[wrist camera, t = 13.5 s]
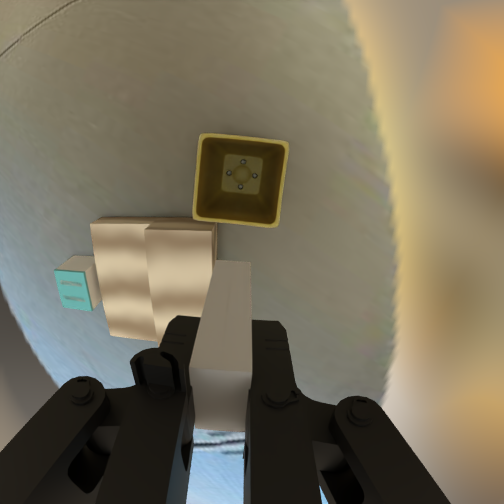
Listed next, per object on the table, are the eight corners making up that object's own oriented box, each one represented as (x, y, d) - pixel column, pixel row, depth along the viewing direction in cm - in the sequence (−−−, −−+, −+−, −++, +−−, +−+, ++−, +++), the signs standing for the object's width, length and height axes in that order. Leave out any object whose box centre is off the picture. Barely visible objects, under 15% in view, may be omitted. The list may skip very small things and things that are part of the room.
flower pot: (210, 135, 34) (198, 131, 26) (280, 143, 34) (290, 141, 26) (204, 203, 37) (191, 220, 29) (271, 210, 37) (278, 229, 29)
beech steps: (101, 217, 37) (81, 229, 32) (217, 218, 38) (211, 231, 32) (118, 323, 44) (104, 344, 38) (218, 332, 44) (214, 356, 38)
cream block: (83, 272, 34) (102, 256, 39) (53, 270, 34) (74, 255, 39) (91, 311, 36) (108, 291, 42) (63, 307, 36) (80, 289, 41)
